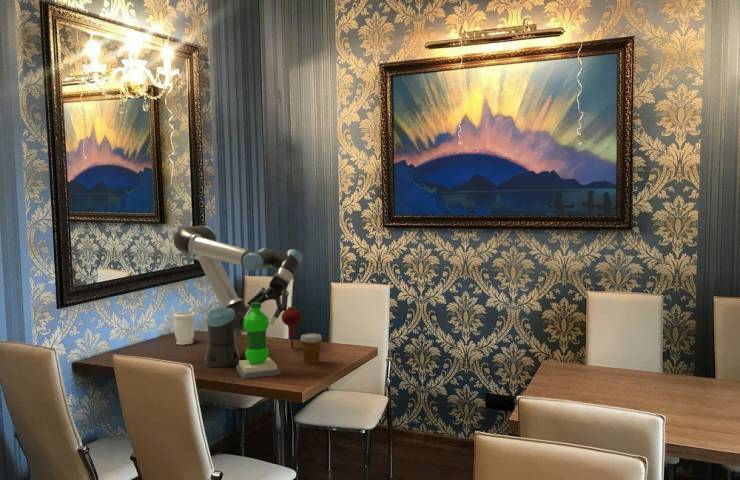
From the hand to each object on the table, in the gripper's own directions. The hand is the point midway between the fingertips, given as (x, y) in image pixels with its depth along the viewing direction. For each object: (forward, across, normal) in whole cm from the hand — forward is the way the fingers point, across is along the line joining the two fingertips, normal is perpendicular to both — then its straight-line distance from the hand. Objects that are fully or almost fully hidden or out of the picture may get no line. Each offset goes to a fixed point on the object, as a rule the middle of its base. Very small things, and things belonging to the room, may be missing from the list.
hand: (258, 321), depth 260 cm
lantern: (-11, +14, -42) cm, 46 cm away
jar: (+2, +68, -29) cm, 74 cm away
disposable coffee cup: (-1, -9, -32) cm, 33 cm away
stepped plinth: (+15, +1, -15) cm, 21 cm away
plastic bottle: (+12, +1, -12) cm, 17 cm away
